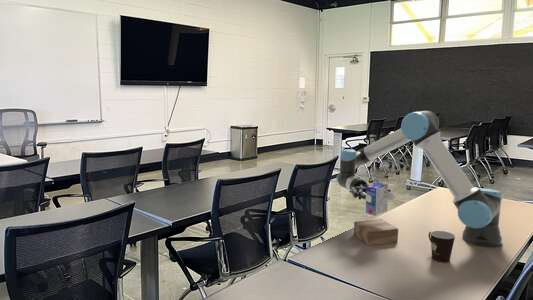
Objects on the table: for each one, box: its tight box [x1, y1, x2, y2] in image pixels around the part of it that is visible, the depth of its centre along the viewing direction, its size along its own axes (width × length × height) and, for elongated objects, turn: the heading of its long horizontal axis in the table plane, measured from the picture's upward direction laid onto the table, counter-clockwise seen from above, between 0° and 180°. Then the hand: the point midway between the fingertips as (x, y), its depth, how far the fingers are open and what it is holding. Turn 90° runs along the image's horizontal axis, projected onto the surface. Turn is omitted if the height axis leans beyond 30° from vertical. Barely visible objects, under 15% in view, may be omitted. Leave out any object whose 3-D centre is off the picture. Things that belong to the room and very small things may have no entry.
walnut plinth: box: [353, 218, 399, 246], centre depth 175 cm, size 13×14×6 cm
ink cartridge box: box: [365, 178, 389, 217], centre depth 173 cm, size 10×6×14 cm, turn 134°
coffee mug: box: [428, 230, 456, 264], centre depth 155 cm, size 12×9×10 cm
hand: (382, 198), depth 169 cm, fingers closed on ink cartridge box, 11 cm apart
